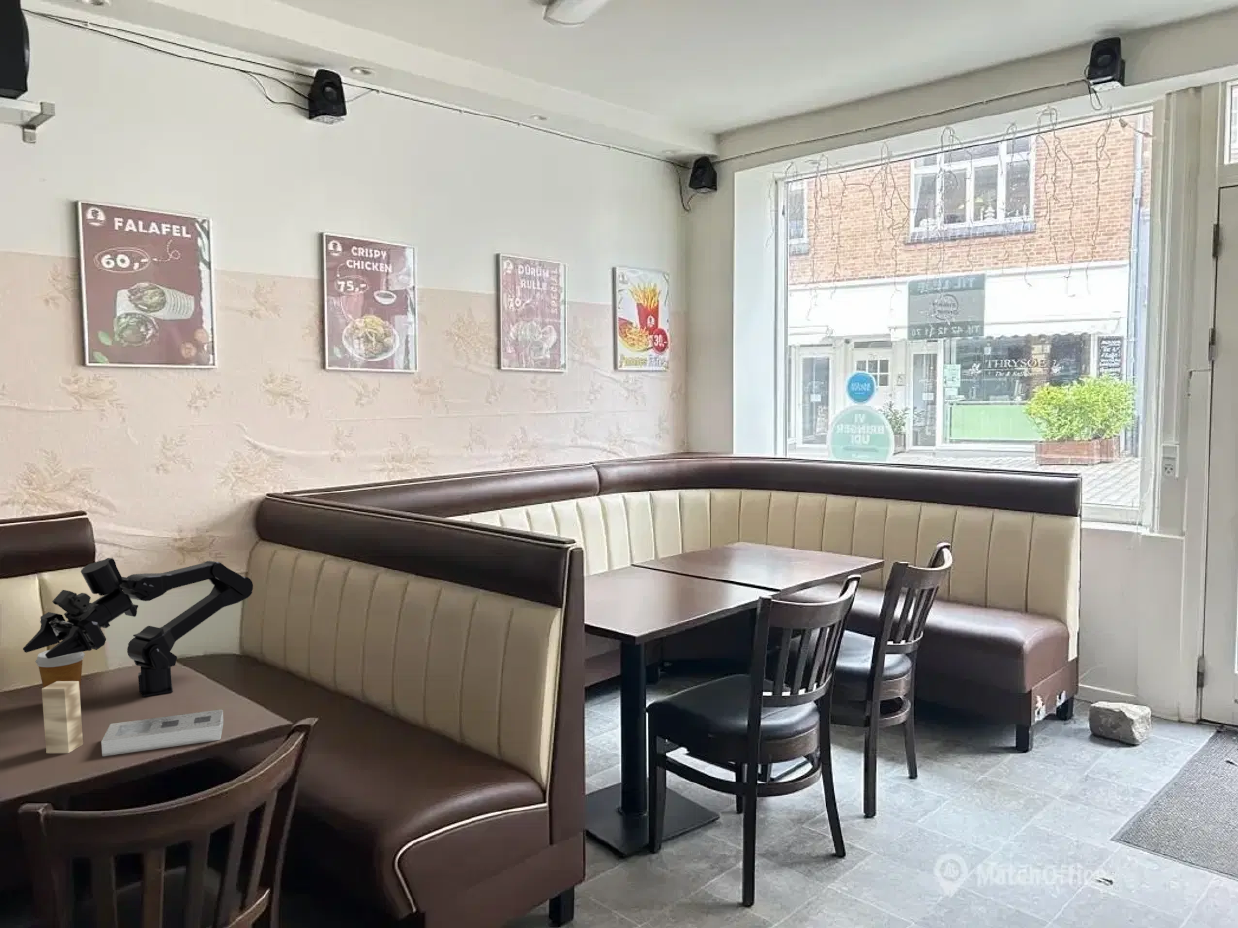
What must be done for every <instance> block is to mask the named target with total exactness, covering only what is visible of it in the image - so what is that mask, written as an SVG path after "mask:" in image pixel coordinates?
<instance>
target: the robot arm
mask: <svg viewBox="0 0 1238 928" xmlns="http://www.w3.org/2000/svg"><path fill="white" fill-rule="evenodd" d="M80 573H81V575H82V577H83V578H84V581H85V583H86V584H87V586H88V588H89V590H90V592H91V593H92V594H93V595H98V596H101V597H99V598H98V599H96V600H94V601H93V602H91V601H90V600H91V599H92V598H91V596H90V595H89V594H88V593H84V592H80V593H76V592H74V591H71V590H66V589H62V590H61V591H60V592H59V593H58V594H57V595H56V596H55V597H54V599H53V600H52V601H51V603H52V604H54V605H55V606H56V605H57V606H58V607H59V608H61V610H63V611H65V612H64V613H63V614H60V613H55V612H50V611H48V612H46V613H44V614H42V615H41V616H40V620H39V623H40V628H39V630H38V631H37V632H36V634H35V635H34V636H33V637H32V638H31V639H30V640H29V641H28V642H27V644H26V645H25V646H24V647H23V648H22V650H23V653H30V652H33V651H36V650H40V649H44V648H46V647H49V646H50V647H51V646H52V645H53V647H52V648H51V649H49V650H50V651H48V652H47V653H46V654H45V656H46V657H47V658H48V659H49V658H54V657H59V656H63V655H68V654H73V653H78V652H83V653H84V652H87V651H88V652H90V651H92V650H94V651H98V650H99V649H100V648H102V647H103V646H105V644H106V640H107V638H106V635H105V633H104V632H103V630H102V628H103V629H107V628H109V627H110V626H111V625H110V623H111V622H112V621H113V620H116V619H117V618H118V617H120V616H121V615H123V614H124V615H125V616H129V617H132V618H135V617H136V616H137V614H138V608H139V605H138V604H135V603H133V601H132V600H137V601H143V602H149V601H153V600H154V599H157V598H158V597H161V596H163V595H164V594H166V593H167V592H168V591H170V590H174V589H177V588H180V587H184V586H185V587H186V586H189V585H192V584H195V583H201V582H203V581H207V580H208V581H209V582H210V583H211V584H212V585H213V587H212V589H211V590H210V593H209V594H207V595H206V596H205V597H203V598H202V599H200V600H199V601H198V602H195V603H194V604H193V605H191V606H190V607H188V609H186V610H184V611H182V613H180V614H179V615H177V616H175V617H174V618H173V619H171V620H169V621H168V622H167V623H165V624H164V625H163V626H161V627H157V626H152V625H147V626H146V627H144V628H143V629H142V630H141V631H139V632H138V633H135V634H133V635H132V637H133V638H131V640H130V641H128V643H127V648H126V649H127V650H126V651H127V655H128V657H129V658H130V659H131V660H132V661H133V663H134V664H135V666H137V667H138V666H139V667H140V672H138V673H137V677H138V679H137V681H138V692H139V693H140V694H141V697H142V698H143V697H150V696H151V697H152V696H155V695H157V696H158V695H163V694H169V693H173V692H174V690H173V689H174V688H173V682H172V667H175V666H176V663H177V659H178V656H177V655H175V654H174V653H173V652H172V650H173V647H174V645H175V643H176V642H177V641H178V640H179V639H181V638H183V637H184V636H185V635H186V634H188V633H189V632H191V631H192V630H194V629H195V628H197V627H198V626H199V625H201V624H203V623H204V621H206V620H208V619H209V618H210V617H212V616H213V615H215V614H216V613H217V612H219V611H220V610H221V609H223V608H225V607H229V606H233V605H235V604H238V603H240V602H243V601H244V600H247V599H248V598H249V597H251V595H252V594H253V589H254V583H253V581H252V579H251V578H249V577H247V576H243V575H241V574H240V573H238V572H236V571H234V570H232V569H230V568H229V567H227V566H225V565H224V564H223V563H222V562H219V561H215V560H214V561H212V560H207V561H204V562H201V563H199V564H198V563H197V564H194V565H190V566H186V567H182V568H178V569H174V570H170V571H164V572H160V573H159V572H158V573H157V572H156V573H153V572H152V573H134V574H133V573H132V574H130V575H128V576H126V577H124V576H122V574H121V573H120V570H119V569H118V567H117V563H116V561H115V559H114V558H113V557H107V558H105V559H102V560H98V561H95V562H93V563H92V562H91V563H88V564H87V565H85V566H84V567H82V569H81V570H80ZM54 645H55V646H54Z"/></svg>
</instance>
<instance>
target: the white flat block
mask: <svg viewBox="0 0 1238 928" xmlns="http://www.w3.org/2000/svg"><path fill="white" fill-rule="evenodd" d="M223 727H224V710H223V709H216V710H207V711H200V712H199V711H198V712H191V713H184V714H177V715H170V716H162V717H154V718H152V717H151V718H146V719H138V720H137V719H136V720H131V721H122V722H116V723H110V724H109V726H108V728H107V729H106V732H105V734H104V736H103V738H102V740H101V741H100V744H101V756H102V757H108V756H114V755H115V756H116V755H122V754H123V755H124V754H129V753H137V752H144V751H150V750H151V751H153V750H157V749H158V750H159V749H165V748H172V747H177V746H179V747H181V746H187V745H193V744H199V743H200V744H201V743H207V742H215V741H221V738H222V733H223Z"/></svg>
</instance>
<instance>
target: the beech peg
mask: <svg viewBox="0 0 1238 928" xmlns="http://www.w3.org/2000/svg"><path fill="white" fill-rule="evenodd" d="M41 693H42V694H41V698H42V711H43V712H42V713H43V725H44V739H45V740H44V741H45V742H44V743H45V751H46V752H45V753H46V754H69V753H71V752H73V751H74V750H76V749H77V748H79V747H81V746H83V745H84V740H83V739H84V737H83V725H82V708H81V689H80V690H79V681H56V682H54V683H52V684H50V685H48V686H46V687H44V688H43V687H42V688H41Z"/></svg>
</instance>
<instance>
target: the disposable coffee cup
mask: <svg viewBox="0 0 1238 928" xmlns="http://www.w3.org/2000/svg"><path fill="white" fill-rule="evenodd" d="M50 650H51V649H48V650H45V651H42V652H39V653H38V654H37V658H36V659H35V664H36V665H37V666H38V671H39V676H40V679H41V685H42V688H44V687H46V686H48V685H50V684H52V683H54V682H56V681H79V690H80V691H81V688H82V687H81V685H82V675H83V674H82V673H83V659H84V658H85V652H84V651H83V652H78V653H73V654H68V655H63V656H59V657H54V658H49V659H48V658H47V657H46V656H45V654H46V653H47V652H48V651H50Z"/></svg>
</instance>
